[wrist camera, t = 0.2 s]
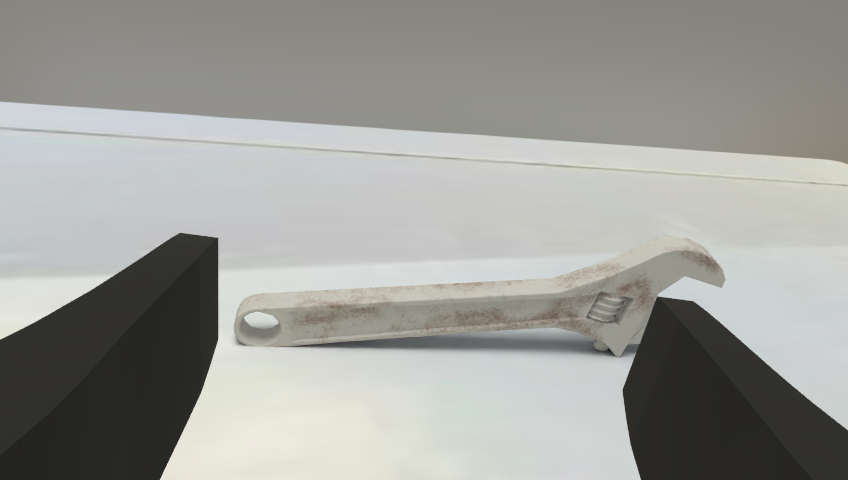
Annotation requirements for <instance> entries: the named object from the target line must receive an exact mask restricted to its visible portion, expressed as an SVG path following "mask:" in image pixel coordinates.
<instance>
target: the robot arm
mask: <svg viewBox="0 0 848 480" xmlns="http://www.w3.org/2000/svg"><path fill="white" fill-rule="evenodd" d="M217 341H218V238H214V237H207V236H199V235H192V234H184V233H179V234H177V235H176V236H174V237H172V238H171V239H169V240H168V241H166V242H165V243H163V244H162V245H160V246H159V247H157V248H156V249H154V250H153V251H151V252H150V253H148V254H147V255H145V256H144V257H142V258H141V259H139V260H138V261H136V262H135V263H133V264H132V265H130V266H128V267H127V268H125V269H124V270H122V271H121V272H119V273H118V274H116V275H114V276H113V277H111V278H110V279H108V280H107V281H105V282H104V283H102V284H100V285H99V286H97V287H96V288H94V289H92V290H91V291H89V292H87V293H86V294H84V295H82V296H80V297H79V298H77V299H75V300H73V301H72V302H70V303H68V304H66V305H65V306H63V307H61V308H59V309H58V310H56V311H54V312H52V313H51V314H49V315H47V316H45V317H44V318H42V319H40V320H38V321H37V322H35V323H33V324H31V325H29V326H27V327H25V328H23V329H21V330H19V331H17V332H15V333H13V334H11V335H9V336H7V337H5V338H3V339H1V340H0V480H160V478H161V476H162V474H163V472H164V470H165V467H166V465H167V463H168V461H169V459H170V457H171V455H172V453H173V451H174V449H175V447H176V445H177V442H178V440H179V438H180V436H181V434H182V432H183V430H184V428H185V426H186V424H187V421H188V419H189V417H190V415H191V413H192V411H193V409H194V407H195V404H196V402H197V400H198V398H199V396H200V394H201V391H202V388H203V385H204V382H205V379H206V376H207V373H208V370H209V367H210V364H211V361H212V358H213V354H214V351H215V348H216V345H217ZM623 397H624V405H625V412H626V419H627V425H628V431H629V437H630V443H631V447H632V451H633V454H634V458H635V461H636V464H637V468H638V471H639V474H640V478H641V480H848V430H847V429H845V428H844V427H843V426H841V425H840V424H839V423H838V422H836V421H835V420H834V419H833V418H831V417H830V416H829V415H827V414H826V413H825V412H824V411H822V410H821V409H820V408H819V407H817V406H816V405H815V404H813V403H812V402H811V401H810V400H809V399H807V398H806V397H805V396H804V395H803V394H801V393H800V392H799V391H798V390H796V389H795V388H794V387H793V386H792V385H791V384H789V383H788V382H787V381H786V380H785V379H783V378H782V377H781V376H780V375H779V374H778V373H777V372H775V371H774V370H773V369H772V368H771V367H770V366H768V365H767V364H766V363H765V362H764V361H763V360H762V359H760V358H759V357H758V356H757V355H756V354H755V353H754V352H753V351H751V350H750V349H749V348H748V347H747V346H746V345H745V344H744V343H742V342H741V341H740V340H739V339H738V338H737V337H736V336H735V335H733V334H732V333H731V332H730V331H729V330H728V329H727V328H725V327H724V326H723V325H722V324H721V323H720V322H719V321H717V320H716V319H715V318H714V317H713V316H711V315H710V314H709V313H708V312H707V311H705V310H704V309H703V308H702V307H700V306H699V305H698V304H696V303H695V302H693V301H687V300H679V299H672V298H664V297H657V298H656V301H655V304H654V306H653V309H652V312H651V314H650V317H649V320H648V323H647V325H646V328H645V331H644V333H643V336H642V339H641V342H640V344H639V347H638V350H637V352H636V355H635V358H634V361H633V363H632V366H631V369H630V371H629V374H628V377H627V379H626V382H625V385H624V388H623Z"/></svg>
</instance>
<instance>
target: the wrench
mask: <svg viewBox="0 0 848 480" xmlns="http://www.w3.org/2000/svg"><path fill="white" fill-rule="evenodd" d="M684 276H687V277H690V278H693V279H696V280H699V281H702V282H706V283H709V284H712V285H715V286H718V287H721V288H722V286H723V284H724V281H725V276H724V273H723V270H722V268H721V267H720V266H719V264H718V263H717V262H716V261H715V260H714V258H713V257H712V256H711V255H710V254H709V253H708V251H707V250H706V249H705V248H704V247H703V246H702V245H700V244H698V243H696V242H694V241H692V240H690V239H688V238H680V237H665V238H659V239H654V240H652V241H649V242H647V243H645V244H643V245H641V246H639V247H637V248H634V249H632V250H630V251H627V252H625V253H623V254H620V255H618V256H616V257H613V258H611V259H609V260H607V261H604V262H602V263H599V264H596V265H593V266H589V267H586V268H583V269H580V270H577V271H574V272H571V273H568V274H565V275H561V276H558V277H555V278H552V279H533V280H514V281H495V282H476V283H456V284H437V285H418V286H399V287H380V288H361V289H342V290H323V291H304V292H286V293H264V294H256V295H252V296H249V297H247V298H245V299H244V300H243V301H242V302H241V304H240V306H239V308H238V310H237V315H236V319H235V323H234V332H235V334H236V337H237V338H238V340H239V341H240V342H241V343H243V344H245V345H247V346H268V347H282V346H298V345H310V344H322V343H334V342H346V341H361V340H376V339H390V338H405V337H420V336H433V335H446V334H460V333H473V332H486V331H500V330H516V329H535V328H560V329H565V330H569V331H574V332H579V333H581V334H583V335H586V336H588V337H590V338H593V339H595V342H594V344H593V347H594V348H595V349H597V350H600V351H606V350H608V348H609V349H610V350H611V351H612V352H613V353H614V354H615V356H616V357H620V356H621V355H622V353H623V351H624V350H625V348H626V346H627V345H628V344H640V342H641V339H642V336H643V333H644V331H645V328H646V325H647V323H648V320H649V317H650V314H651V312H652V309H653V306H654V304H655V298H656V297H657V295H658V293H660V292H661V291H663V290H664V289H666V288H667V287H669V286H670V285H672V284H673V283H675V282H677V281H678V280H680V279H681V278H683V277H684ZM257 311H258V312H262V313H266V314H270V315H273V316H274V317H275V318H276V319H277V320H278V321H279V324H278V325H276V326H275V327H273V328H270V329H266V330H262V329H256V328H254V327H251V326H250V325H249V324H248V323H247V322H246V321H245V319H244V317H245V316H246V315H248V314H249V313H252V312H257Z"/></svg>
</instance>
